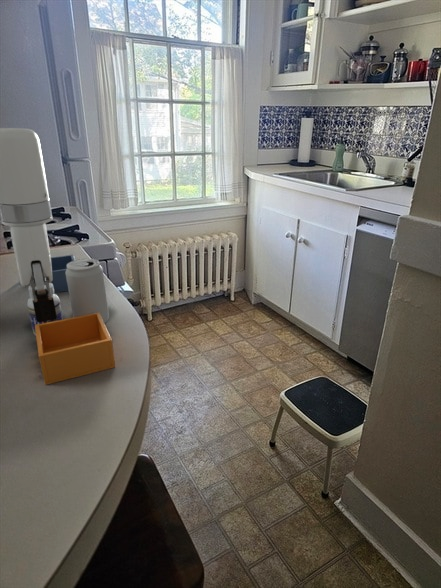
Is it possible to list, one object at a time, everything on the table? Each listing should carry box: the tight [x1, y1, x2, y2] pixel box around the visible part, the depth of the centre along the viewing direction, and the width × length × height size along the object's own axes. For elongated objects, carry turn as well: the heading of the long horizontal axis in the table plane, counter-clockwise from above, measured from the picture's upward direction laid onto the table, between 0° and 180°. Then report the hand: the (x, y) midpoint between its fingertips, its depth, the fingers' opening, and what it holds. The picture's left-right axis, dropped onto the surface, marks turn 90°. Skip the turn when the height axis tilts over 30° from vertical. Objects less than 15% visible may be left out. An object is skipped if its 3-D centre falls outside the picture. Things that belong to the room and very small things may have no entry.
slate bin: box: [34, 254, 76, 294], centre depth 90 cm, size 10×10×5 cm
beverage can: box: [65, 258, 110, 324], centre depth 72 cm, size 6×6×12 cm
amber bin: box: [35, 312, 116, 386], centre depth 62 cm, size 10×10×5 cm
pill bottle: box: [26, 283, 64, 336], centre depth 70 cm, size 5×5×9 cm
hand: (45, 311), depth 70 cm, fingers closed on pill bottle, 5 cm apart
